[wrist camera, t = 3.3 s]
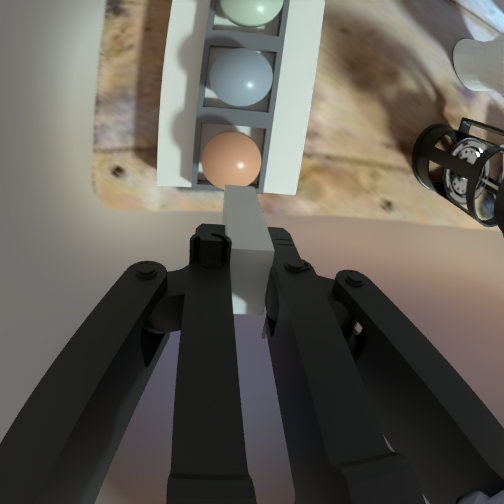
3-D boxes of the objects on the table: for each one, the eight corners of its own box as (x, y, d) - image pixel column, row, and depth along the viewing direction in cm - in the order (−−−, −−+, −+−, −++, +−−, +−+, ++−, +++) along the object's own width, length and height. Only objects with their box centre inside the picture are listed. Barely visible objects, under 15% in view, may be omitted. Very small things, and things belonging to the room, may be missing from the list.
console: (182, -15, 22) (175, -32, 17) (314, 0, 24) (331, -14, 19) (163, 174, 32) (153, 190, 28) (287, 183, 34) (298, 200, 30)
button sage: (224, -22, 18) (224, -30, 16) (282, -15, 18) (286, -22, 17) (217, 25, 20) (216, 20, 19) (275, 31, 21) (279, 27, 19)
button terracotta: (205, 128, 25) (203, 131, 23) (261, 132, 26) (264, 136, 24) (201, 181, 27) (199, 188, 26) (255, 185, 28) (257, 192, 26)
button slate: (213, 48, 21) (213, 45, 20) (272, 54, 22) (276, 52, 20) (207, 102, 24) (206, 103, 22) (265, 108, 25) (268, 109, 23)
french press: (446, 201, 37) (559, 295, 18) (400, 183, 35) (529, 288, 16) (472, 129, 32) (603, 192, 12) (428, 100, 30) (583, 152, 10)
